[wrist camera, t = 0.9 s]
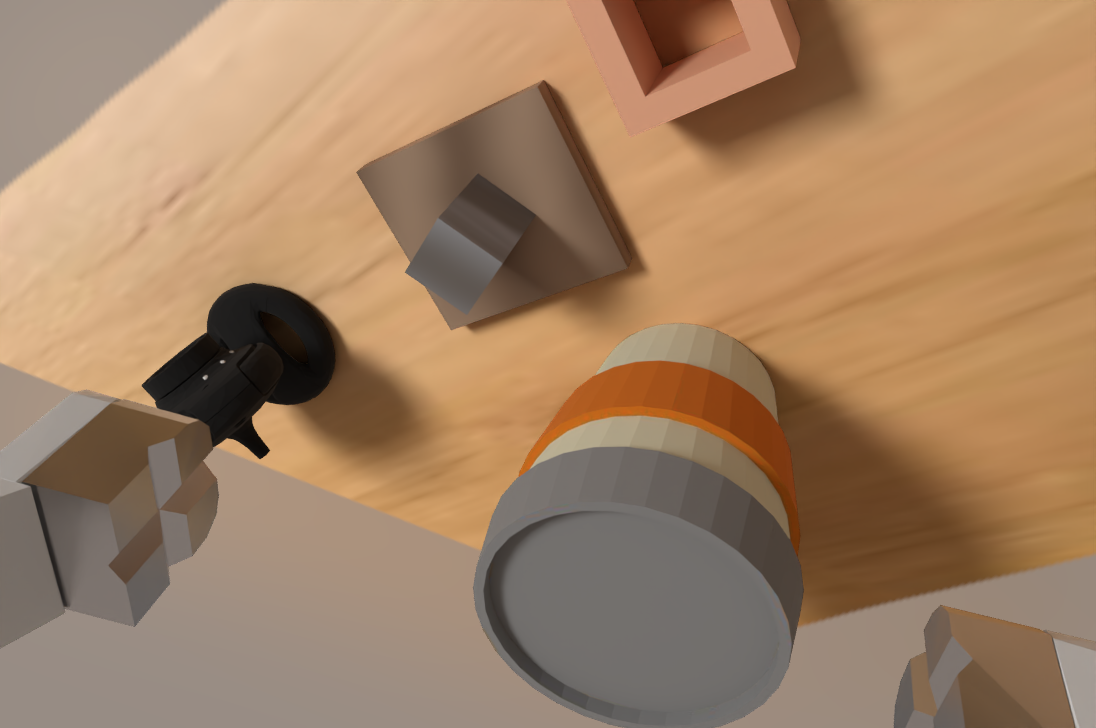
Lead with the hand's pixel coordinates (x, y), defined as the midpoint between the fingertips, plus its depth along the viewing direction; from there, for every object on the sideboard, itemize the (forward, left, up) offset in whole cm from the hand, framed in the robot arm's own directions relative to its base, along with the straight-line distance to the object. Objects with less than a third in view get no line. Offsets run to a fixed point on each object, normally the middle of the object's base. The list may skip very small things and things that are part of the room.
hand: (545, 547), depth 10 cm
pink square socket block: (+3, -1, -32) cm, 32 cm away
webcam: (+31, +6, -32) cm, 45 cm away
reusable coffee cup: (+11, +17, -32) cm, 37 cm away
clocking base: (+15, +4, -32) cm, 35 cm away
